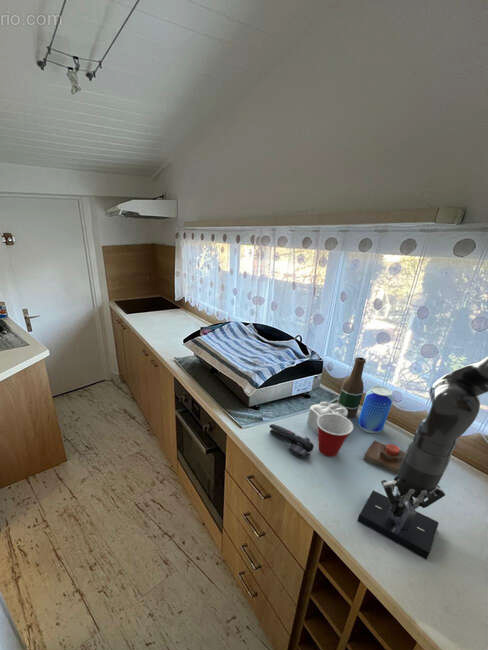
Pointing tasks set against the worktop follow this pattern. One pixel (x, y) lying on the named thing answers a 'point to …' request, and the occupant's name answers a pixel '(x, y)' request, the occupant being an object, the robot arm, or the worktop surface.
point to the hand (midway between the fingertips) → (400, 514)
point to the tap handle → (406, 516)
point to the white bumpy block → (323, 409)
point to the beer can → (375, 409)
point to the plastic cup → (332, 433)
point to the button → (392, 449)
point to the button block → (383, 457)
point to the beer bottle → (353, 389)
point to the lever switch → (385, 523)
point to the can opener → (293, 441)
